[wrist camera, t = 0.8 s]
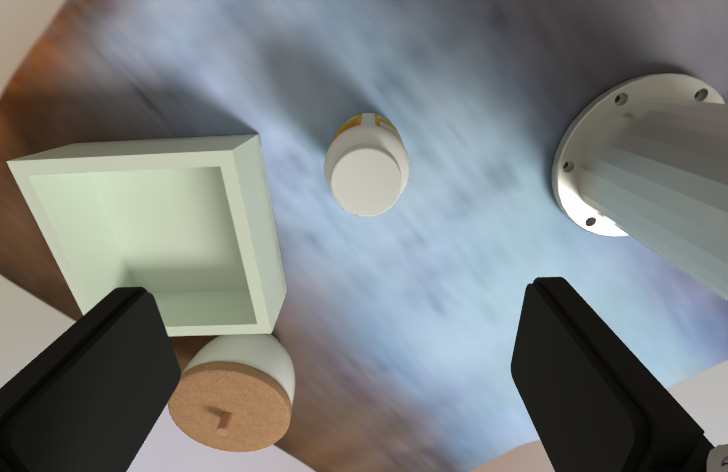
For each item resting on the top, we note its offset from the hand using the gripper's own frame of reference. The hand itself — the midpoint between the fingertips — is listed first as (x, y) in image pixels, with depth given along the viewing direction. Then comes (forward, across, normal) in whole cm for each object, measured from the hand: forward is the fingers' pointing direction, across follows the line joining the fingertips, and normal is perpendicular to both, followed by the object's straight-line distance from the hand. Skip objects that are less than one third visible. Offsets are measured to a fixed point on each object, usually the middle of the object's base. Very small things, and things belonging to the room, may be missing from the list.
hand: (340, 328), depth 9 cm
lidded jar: (+22, +12, +21) cm, 33 cm away
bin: (+21, +15, +6) cm, 27 cm away
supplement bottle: (+22, -1, 0) cm, 22 cm away
